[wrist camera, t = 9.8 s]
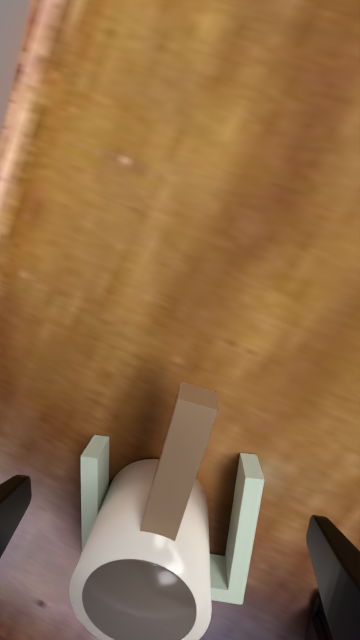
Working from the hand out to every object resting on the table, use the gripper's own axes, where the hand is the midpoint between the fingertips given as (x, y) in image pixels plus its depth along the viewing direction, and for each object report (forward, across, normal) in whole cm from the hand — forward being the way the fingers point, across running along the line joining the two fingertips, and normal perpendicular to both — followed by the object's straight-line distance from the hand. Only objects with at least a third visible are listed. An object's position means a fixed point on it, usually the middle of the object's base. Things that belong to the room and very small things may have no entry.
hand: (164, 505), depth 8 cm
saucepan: (+10, +1, +7) cm, 12 cm away
